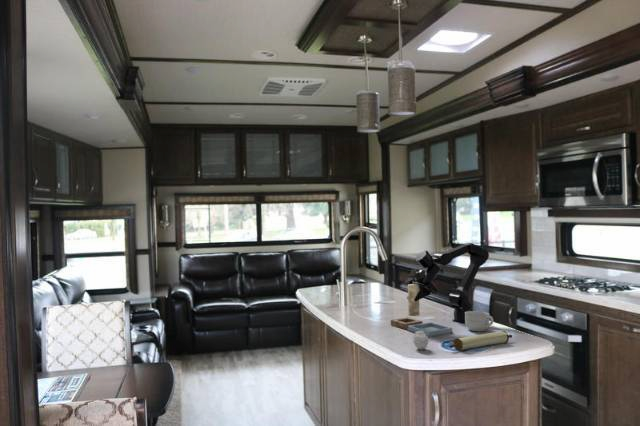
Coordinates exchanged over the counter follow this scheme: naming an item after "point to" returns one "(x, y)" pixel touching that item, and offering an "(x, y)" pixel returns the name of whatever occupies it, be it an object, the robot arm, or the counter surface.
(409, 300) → the dowel
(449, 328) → the tray
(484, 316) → the teacup
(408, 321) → the socket block
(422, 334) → the grey round lump
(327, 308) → the counter surface
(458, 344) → the rolling pin
